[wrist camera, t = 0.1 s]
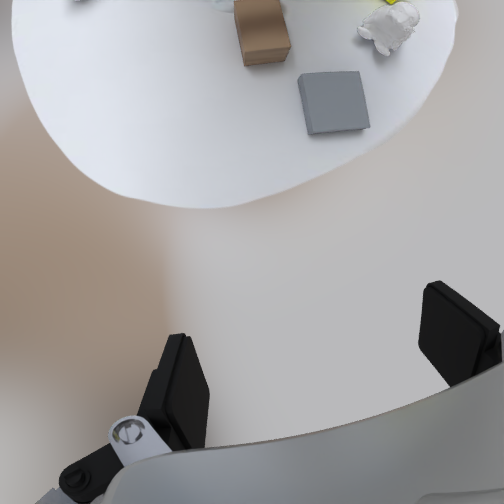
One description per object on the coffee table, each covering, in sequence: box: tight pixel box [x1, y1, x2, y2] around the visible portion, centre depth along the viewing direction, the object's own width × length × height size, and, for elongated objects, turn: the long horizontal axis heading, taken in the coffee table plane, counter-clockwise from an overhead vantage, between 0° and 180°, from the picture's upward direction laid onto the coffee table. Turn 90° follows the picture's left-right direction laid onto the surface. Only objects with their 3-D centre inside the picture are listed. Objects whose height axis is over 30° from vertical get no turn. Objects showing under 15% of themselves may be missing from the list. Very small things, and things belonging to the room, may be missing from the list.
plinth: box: [298, 71, 370, 134], centre depth 35 cm, size 8×8×3 cm
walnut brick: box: [234, 0, 291, 66], centre depth 31 cm, size 8×6×6 cm
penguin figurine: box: [357, 2, 420, 56], centre depth 28 cm, size 6×8×12 cm
